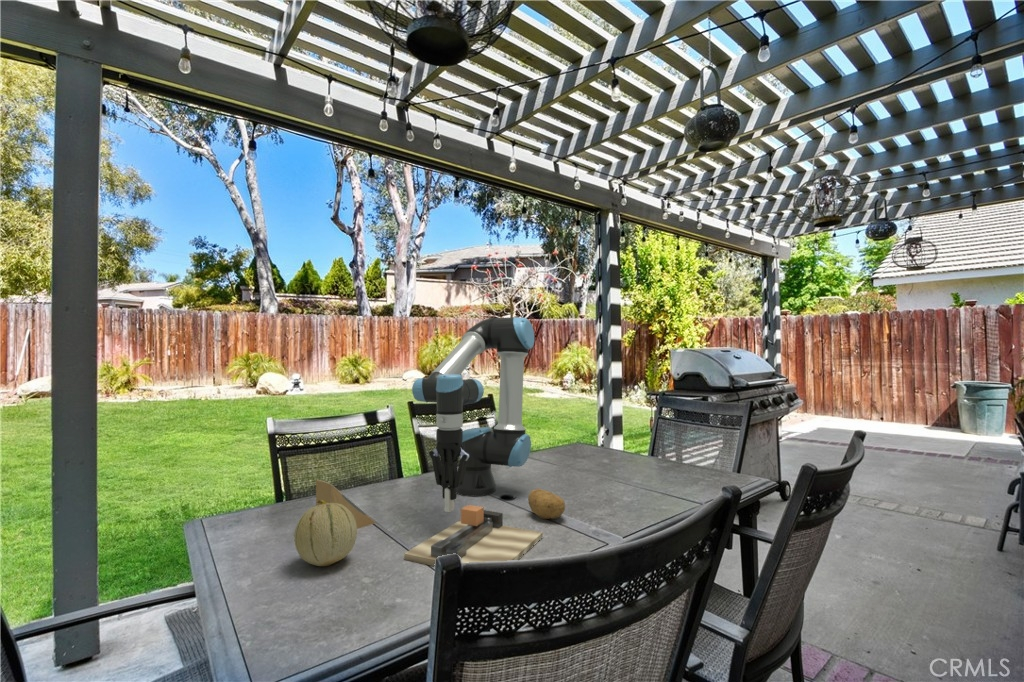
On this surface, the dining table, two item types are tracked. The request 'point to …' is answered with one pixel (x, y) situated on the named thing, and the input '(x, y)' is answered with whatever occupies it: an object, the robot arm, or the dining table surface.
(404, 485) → the dining table surface
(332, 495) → the sandwich container
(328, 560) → the cantaloupe
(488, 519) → the upper tong arm
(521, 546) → the tongs board
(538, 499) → the potato
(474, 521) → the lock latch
